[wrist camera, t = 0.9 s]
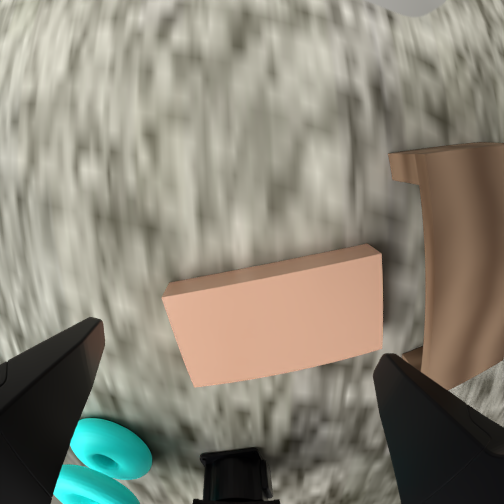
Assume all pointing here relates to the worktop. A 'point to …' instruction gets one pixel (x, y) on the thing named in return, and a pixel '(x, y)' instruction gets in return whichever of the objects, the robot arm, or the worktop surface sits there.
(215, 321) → the tile
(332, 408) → the worktop surface
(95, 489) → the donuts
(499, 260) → the shelf
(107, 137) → the worktop surface
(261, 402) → the worktop surface
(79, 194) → the worktop surface
